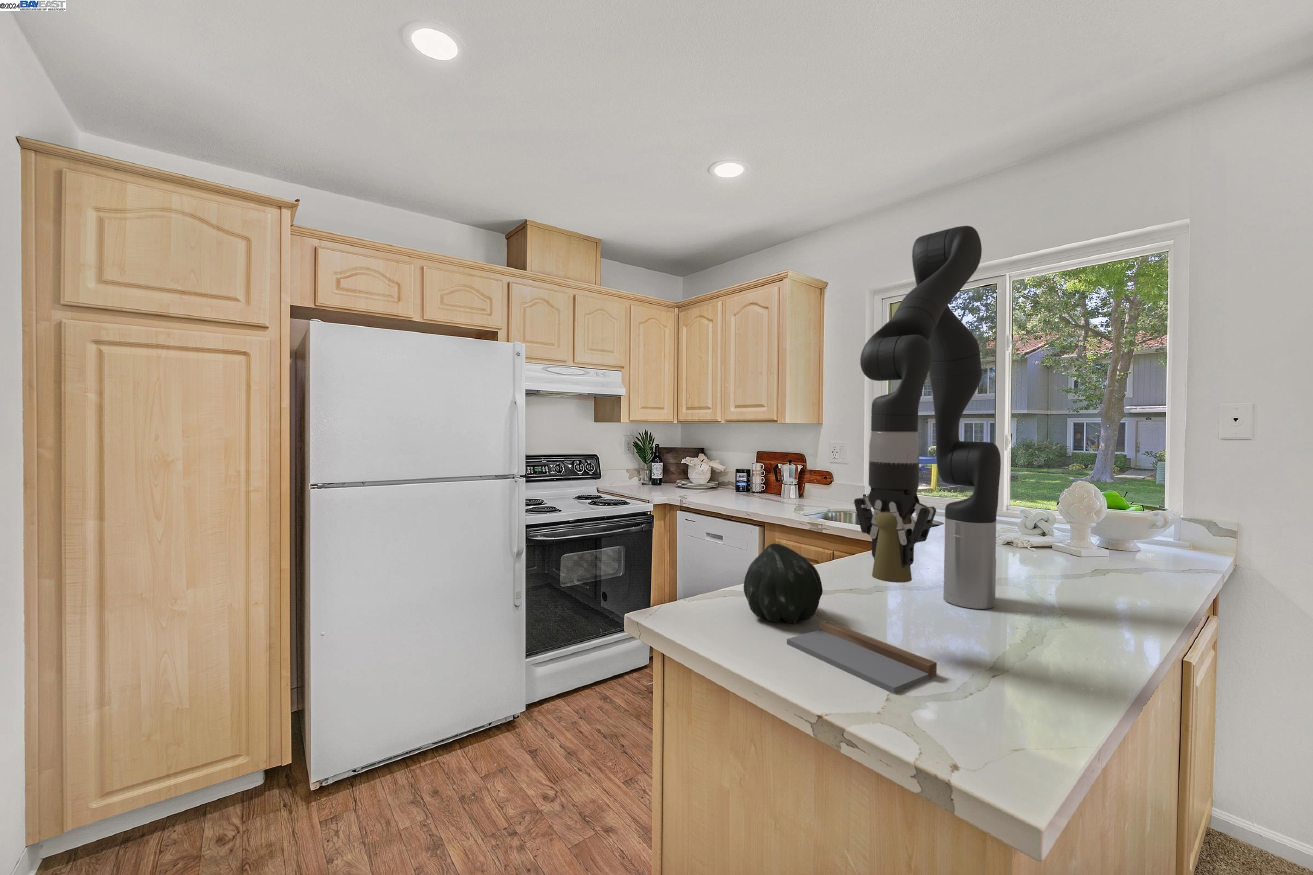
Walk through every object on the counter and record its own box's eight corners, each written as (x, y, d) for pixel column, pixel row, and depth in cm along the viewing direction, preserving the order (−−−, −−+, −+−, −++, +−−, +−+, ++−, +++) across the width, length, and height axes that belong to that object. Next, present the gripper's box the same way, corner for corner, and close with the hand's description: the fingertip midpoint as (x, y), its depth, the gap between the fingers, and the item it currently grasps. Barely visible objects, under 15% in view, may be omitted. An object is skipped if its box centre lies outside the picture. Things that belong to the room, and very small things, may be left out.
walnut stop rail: (827, 631, 98) (827, 620, 97) (936, 676, 81) (936, 662, 81) (819, 634, 96) (819, 622, 96) (928, 679, 80) (928, 665, 79)
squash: (827, 578, 112) (778, 522, 112) (845, 605, 97) (788, 541, 97) (773, 622, 113) (725, 566, 114) (783, 655, 99) (727, 591, 99)
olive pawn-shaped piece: (869, 579, 89) (870, 511, 89) (874, 570, 95) (875, 506, 94) (910, 584, 87) (912, 514, 86) (912, 575, 92) (914, 509, 92)
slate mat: (819, 634, 96) (819, 629, 96) (928, 679, 80) (928, 673, 80) (786, 643, 92) (786, 638, 92) (894, 693, 75) (894, 687, 75)
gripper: (949, 461, 86) (947, 570, 87) (870, 456, 98) (869, 552, 99) (920, 463, 82) (918, 577, 83) (842, 457, 94) (841, 557, 95)
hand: (891, 563), depth 91 cm, fingers closed on olive pawn-shaped piece, 4 cm apart
